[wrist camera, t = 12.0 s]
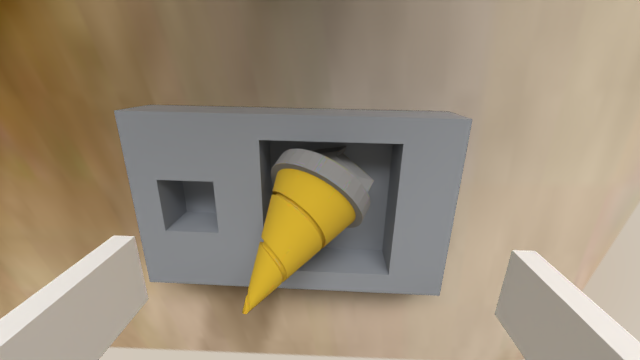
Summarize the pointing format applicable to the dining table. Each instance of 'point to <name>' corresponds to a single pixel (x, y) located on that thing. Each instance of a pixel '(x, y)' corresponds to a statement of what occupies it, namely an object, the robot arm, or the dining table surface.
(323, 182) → the yellow grooved cone
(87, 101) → the dining table surface
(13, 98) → the dining table surface
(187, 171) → the bit holder block
